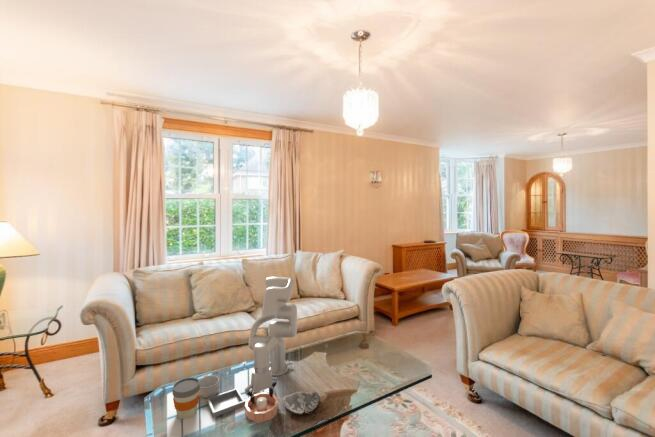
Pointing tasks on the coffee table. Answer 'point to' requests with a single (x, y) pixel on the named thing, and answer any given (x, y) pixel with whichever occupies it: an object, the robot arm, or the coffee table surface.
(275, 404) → the bowl
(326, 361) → the coffee table surface
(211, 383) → the teacup
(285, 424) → the coffee table surface
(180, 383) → the reusable coffee cup
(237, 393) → the tray
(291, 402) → the brain slice
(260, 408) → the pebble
